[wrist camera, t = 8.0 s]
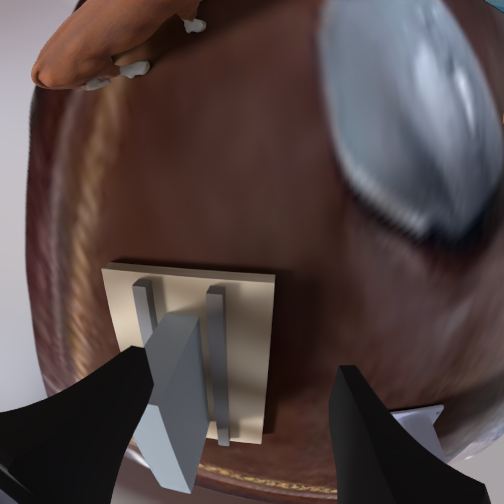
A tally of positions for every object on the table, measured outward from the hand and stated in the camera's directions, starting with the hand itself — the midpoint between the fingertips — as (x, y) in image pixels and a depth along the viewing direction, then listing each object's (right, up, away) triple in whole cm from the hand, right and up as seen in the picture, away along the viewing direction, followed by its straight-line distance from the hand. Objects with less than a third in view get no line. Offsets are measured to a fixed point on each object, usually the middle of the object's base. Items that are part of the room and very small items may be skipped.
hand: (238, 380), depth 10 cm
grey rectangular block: (-4, -5, +11) cm, 13 cm away
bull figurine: (-5, +19, +4) cm, 20 cm away
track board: (-4, -5, +12) cm, 14 cm away
